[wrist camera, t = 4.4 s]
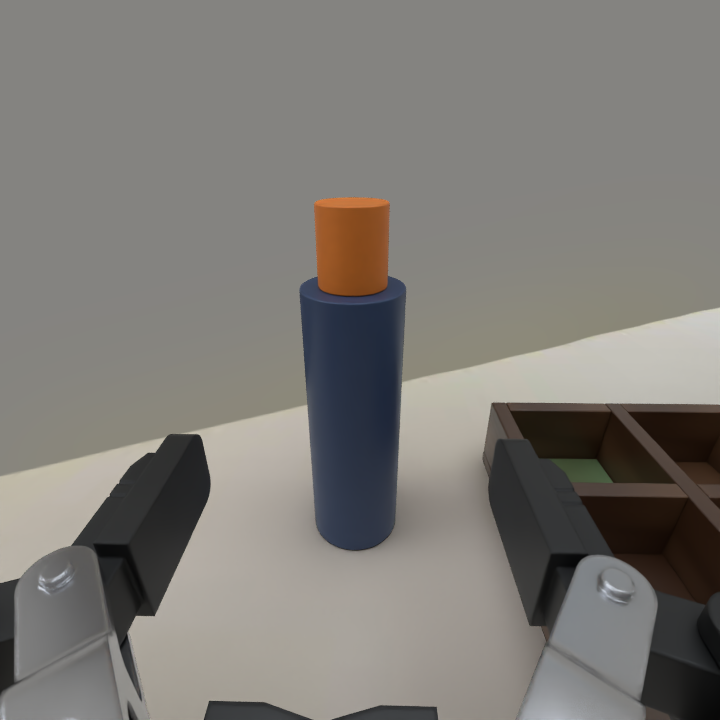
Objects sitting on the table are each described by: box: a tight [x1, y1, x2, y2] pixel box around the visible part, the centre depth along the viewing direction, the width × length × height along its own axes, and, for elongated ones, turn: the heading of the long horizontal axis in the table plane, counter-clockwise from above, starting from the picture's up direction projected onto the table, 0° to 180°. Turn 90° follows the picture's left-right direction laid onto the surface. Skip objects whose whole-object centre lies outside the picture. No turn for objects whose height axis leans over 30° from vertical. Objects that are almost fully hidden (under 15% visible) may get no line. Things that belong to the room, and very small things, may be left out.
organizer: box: [483, 403, 720, 720], centre depth 18 cm, size 13×13×4 cm
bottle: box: [300, 197, 406, 550], centre depth 18 cm, size 4×4×15 cm
